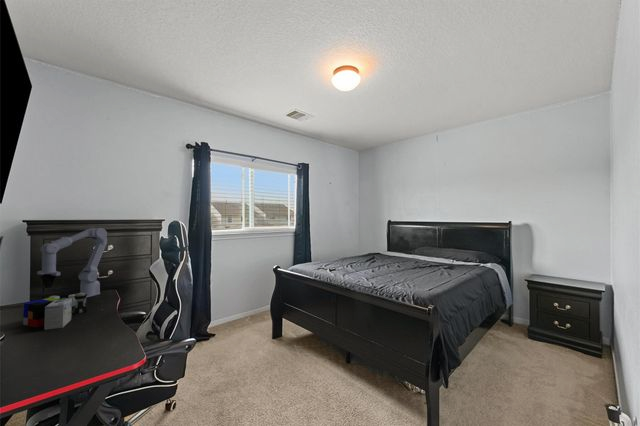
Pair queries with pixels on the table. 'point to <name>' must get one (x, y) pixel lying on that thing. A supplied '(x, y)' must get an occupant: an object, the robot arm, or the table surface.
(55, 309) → the light bulb box
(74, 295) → the grey block
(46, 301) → the puzzle toy
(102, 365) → the table surface
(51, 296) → the gray block
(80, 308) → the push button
